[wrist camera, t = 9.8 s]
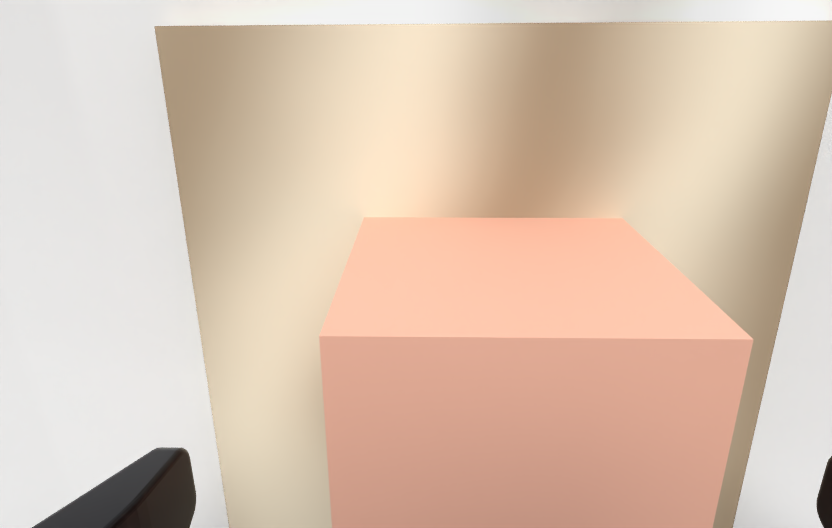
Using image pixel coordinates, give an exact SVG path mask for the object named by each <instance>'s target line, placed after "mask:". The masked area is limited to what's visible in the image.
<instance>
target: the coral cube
mask: <svg viewBox="0 0 832 528" xmlns="http://www.w3.org/2000/svg"><path fill="white" fill-rule="evenodd" d="M753 340H754V339H753V338H751V337H750V336H749V335H748V334H747V333H746V332H745V331H744V330H743V329H742V328H741V327H740V326H738V325H737V324H736V323H735V322H734V321H733V320H732V319H731V318H730V317H729V316H728V315H727V314H726V313H724V312H723V311H722V310H721V309H720V308H719V307H718V306H717V305H716V304H715V303H714V302H713V301H711V300H710V299H709V298H708V297H707V296H706V295H705V294H704V293H703V292H702V291H701V290H700V289H698V288H697V287H696V286H695V285H694V284H693V283H692V282H691V281H690V280H689V279H688V278H687V277H686V276H684V275H683V274H682V273H681V272H680V271H679V270H678V269H677V268H676V267H675V266H674V265H673V264H671V263H670V262H669V261H668V260H667V259H666V258H665V257H664V256H663V255H662V254H661V253H660V252H658V251H657V250H656V249H655V248H654V247H653V246H652V245H651V244H650V243H649V242H648V241H647V240H646V239H644V238H643V237H642V236H641V235H640V234H639V233H638V232H637V231H636V230H635V229H634V228H633V227H631V226H630V225H629V224H628V223H627V222H626V221H625V220H624V219H623V218H416V217H364V219H363V221H362V224H361V227H360V229H359V232H358V235H357V237H356V240H355V243H354V245H353V248H352V250H351V253H350V256H349V258H348V261H347V264H346V266H345V269H344V272H343V274H342V277H341V280H340V282H339V285H338V288H337V290H336V293H335V295H334V298H333V301H332V303H331V306H330V309H329V311H328V314H327V317H326V319H325V322H324V325H323V327H322V330H321V333H320V335H319V342H320V356H321V371H322V386H323V401H324V416H325V431H326V446H327V460H328V475H329V490H330V505H331V520H332V528H713V523H714V519H715V514H716V510H717V505H718V500H719V496H720V491H721V487H722V482H723V478H724V473H725V468H726V464H727V459H728V455H729V450H730V445H731V441H732V436H733V432H734V427H735V423H736V418H737V413H738V409H739V404H740V400H741V395H742V390H743V386H744V381H745V377H746V372H747V368H748V363H749V358H750V354H751V349H752V345H753Z"/></svg>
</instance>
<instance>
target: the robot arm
mask: <svg viewBox="0 0 832 528" xmlns="http://www.w3.org/2000/svg"><path fill="white" fill-rule="evenodd" d="M195 506H196V491H195V485H194V479H193V473H192V467H191V462H190V457H189V454H188V452H187V450H185V449H184V448H156V449H154V450H152V451H151V452H149V453H148V454H146V455H144V456H143V457H141V458H140V459H138V460H137V461H135V462H134V463H132V464H130V465H129V466H127V467H126V468H124V469H123V470H121V471H119V472H118V473H116V474H115V475H113V476H112V477H110V478H109V479H107V480H105V481H104V482H102V483H101V484H99V485H98V486H96V487H95V488H93V489H91V490H90V491H88V492H87V493H85V494H84V495H82V496H80V497H79V498H77V499H76V500H74V501H73V502H71V503H70V504H68V505H66V506H65V507H63V508H62V509H60V510H59V511H57V512H56V513H54V514H52V515H51V516H49V517H48V518H46V519H45V520H43V521H41V522H40V523H38V524H37V525H35V526H34V527H32V528H189V527H190V524H191V521H192V518H193V514H194V511H195ZM817 512H818V515H819V518H820V521H821V523H822V525H823V527H824V528H832V456H831V458H830V459H829V460H828V463H827V466H826V469H825V473H824V476H823V480H822V483H821V487H820V490H819V494H818V497H817Z"/></svg>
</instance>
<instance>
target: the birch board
mask: <svg viewBox="0 0 832 528" xmlns="http://www.w3.org/2000/svg"><path fill="white" fill-rule="evenodd" d="M155 33H156V40H157V46H158V53H159V60H160V67H161V73H162V80H163V87H164V93H165V100H166V107H167V113H168V120H169V127H170V134H171V140H172V147H173V154H174V160H175V167H176V174H177V181H178V187H179V194H180V201H181V207H182V214H183V221H184V227H185V234H186V241H187V248H188V254H189V261H190V268H191V274H192V281H193V288H194V295H195V301H196V308H197V315H198V321H199V328H200V335H201V341H202V348H203V355H204V362H205V368H206V375H207V382H208V388H209V395H210V402H211V409H212V415H213V422H214V429H215V435H216V442H217V449H218V455H219V462H220V469H221V476H222V482H223V489H224V496H225V502H226V509H227V516H228V523H229V528H332V520H331V505H330V490H329V475H328V460H327V446H326V431H325V416H324V401H323V386H322V371H321V356H320V342H319V335H320V333H321V330H322V327H323V325H324V322H325V319H326V317H327V314H328V311H329V309H330V306H331V303H332V301H333V298H334V295H335V293H336V290H337V288H338V285H339V282H340V280H341V277H342V274H343V272H344V269H345V266H346V264H347V261H348V258H349V256H350V253H351V250H352V248H353V245H354V243H355V240H356V237H357V235H358V232H359V229H360V227H361V224H362V221H363V219H364V217H416V218H623V219H624V220H625V221H626V222H627V223H628V224H629V225H630V226H631V227H633V228H634V229H635V230H636V231H637V232H638V233H639V234H640V235H641V236H642V237H643V238H644V239H646V240H647V241H648V242H649V243H650V244H651V245H652V246H653V247H654V248H655V249H656V250H657V251H658V252H660V253H661V254H662V255H663V256H664V257H665V258H666V259H667V260H668V261H669V262H670V263H671V264H673V265H674V266H675V267H676V268H677V269H678V270H679V271H680V272H681V273H682V274H683V275H684V276H686V277H687V278H688V279H689V280H690V281H691V282H692V283H693V284H694V285H695V286H696V287H697V288H698V289H700V290H701V291H702V292H703V293H704V294H705V295H706V296H707V297H708V298H709V299H710V300H711V301H713V302H714V303H715V304H716V305H717V306H718V307H719V308H720V309H721V310H722V311H723V312H724V313H726V314H727V315H728V316H729V317H730V318H731V319H732V320H733V321H734V322H735V323H736V324H737V325H738V326H740V327H741V328H742V329H743V330H744V331H745V332H746V333H747V334H748V335H749V336H750V337H751V338H753V339H754V340H753V345H752V349H751V354H750V358H749V363H748V368H747V372H746V377H745V381H744V386H743V390H742V395H741V400H740V404H739V409H738V413H737V418H736V423H735V427H734V432H733V436H732V441H731V445H730V450H729V455H728V459H727V464H726V468H725V473H724V478H723V482H722V487H721V491H720V496H719V500H718V505H717V510H716V514H715V519H714V523H713V528H733V523H734V519H735V514H736V510H737V506H738V501H739V497H740V492H741V488H742V484H743V479H744V475H745V471H746V466H747V462H748V457H749V453H750V449H751V444H752V440H753V435H754V431H755V427H756V422H757V418H758V414H759V409H760V405H761V400H762V396H763V392H764V387H765V383H766V379H767V374H768V370H769V365H770V361H771V357H772V352H773V348H774V343H775V339H776V335H777V330H778V326H779V322H780V317H781V313H782V308H783V304H784V300H785V295H786V291H787V287H788V282H789V278H790V273H791V269H792V265H793V260H794V256H795V251H796V247H797V243H798V238H799V234H800V230H801V225H802V221H803V216H804V212H805V208H806V203H807V199H808V194H809V190H810V186H811V181H812V177H813V173H814V168H815V164H816V159H817V155H818V151H819V146H820V142H821V138H822V133H823V129H824V124H825V120H826V116H827V111H828V107H829V102H830V98H831V94H832V21H730V22H609V23H488V24H367V25H246V26H155Z"/></svg>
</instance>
